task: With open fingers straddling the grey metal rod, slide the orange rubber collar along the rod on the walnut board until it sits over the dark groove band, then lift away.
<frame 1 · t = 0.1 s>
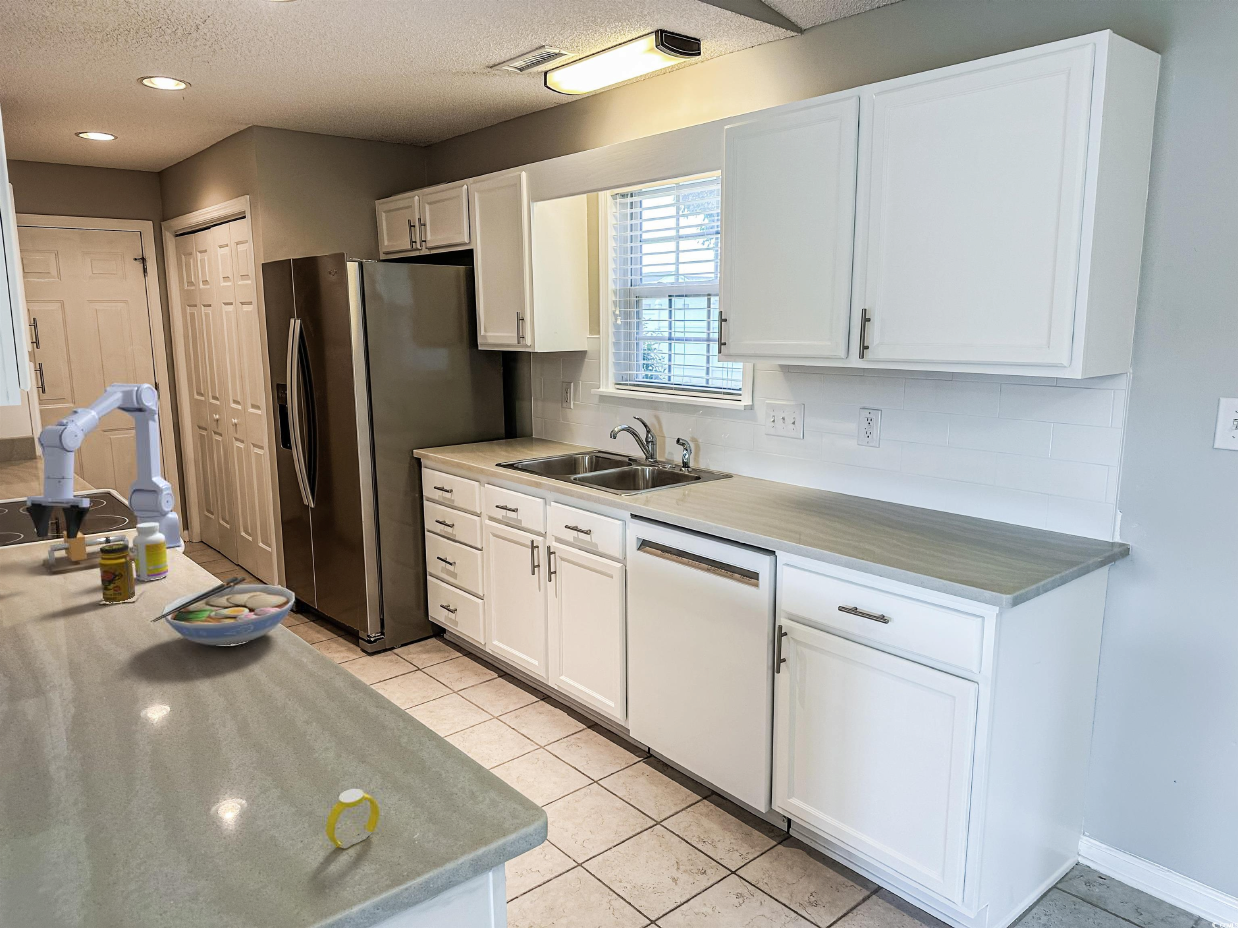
hand: (57, 537, 191), 10 cm above the worktop, tool pointing down, fingers open, 7 cm apart
metal rod: (89, 549, 208), on the walnut board, point 3 cm above the worktop
walnut board: (90, 562, 209), on the worktop
ramen bowl: (233, 641, 158), on the worktop
watch: (354, 842, 97), on the worktop
collar: (74, 545, 206), point 5 cm above the worktop, slide at 0.0 cm
supplement bottle: (152, 578, 197), on the worktop
condiment: (121, 599, 182), on the worktop
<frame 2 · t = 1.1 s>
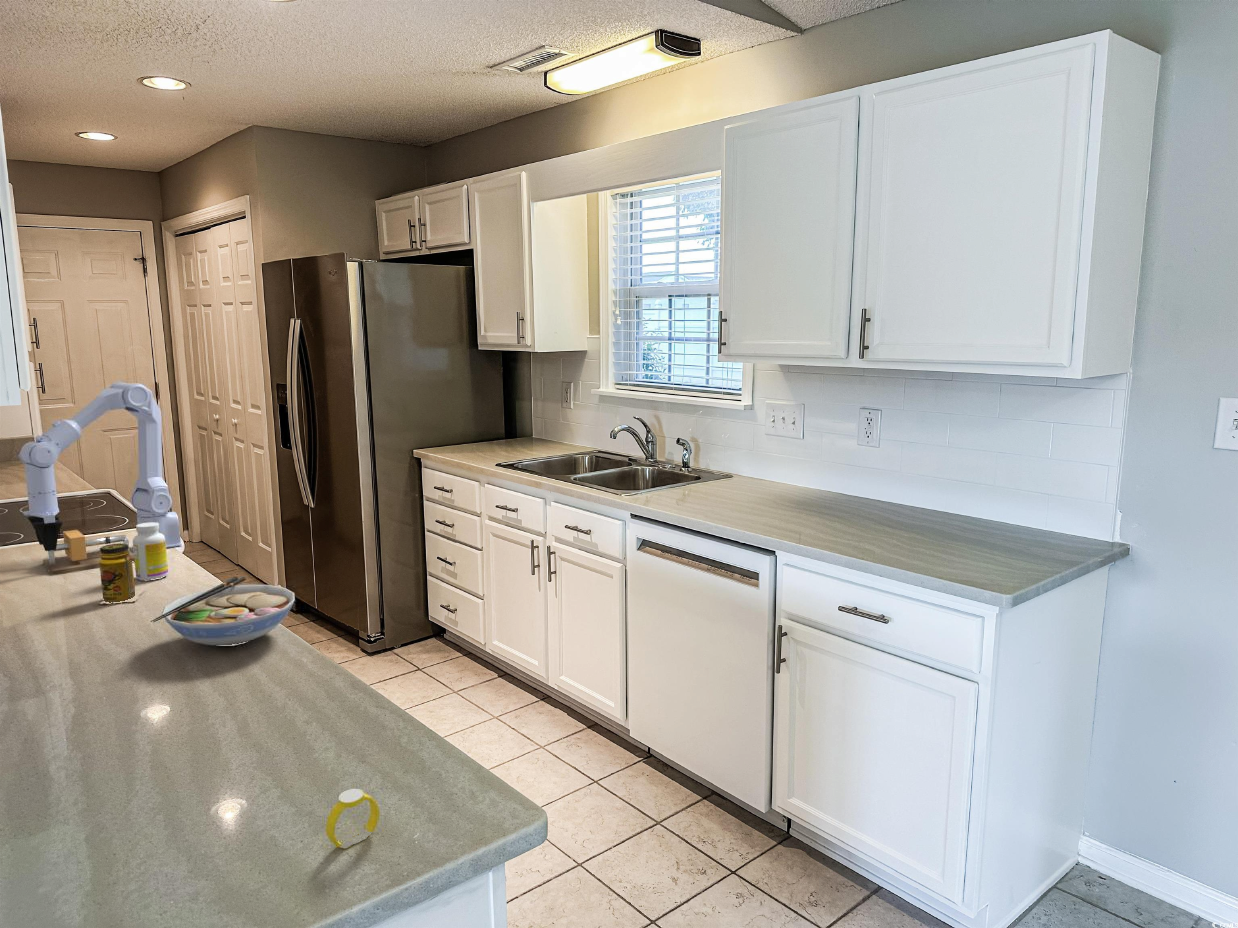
hand: (47, 547, 202), 5 cm above the worktop, tool pointing down, fingers open, 7 cm apart
nothing on the worktop moved.
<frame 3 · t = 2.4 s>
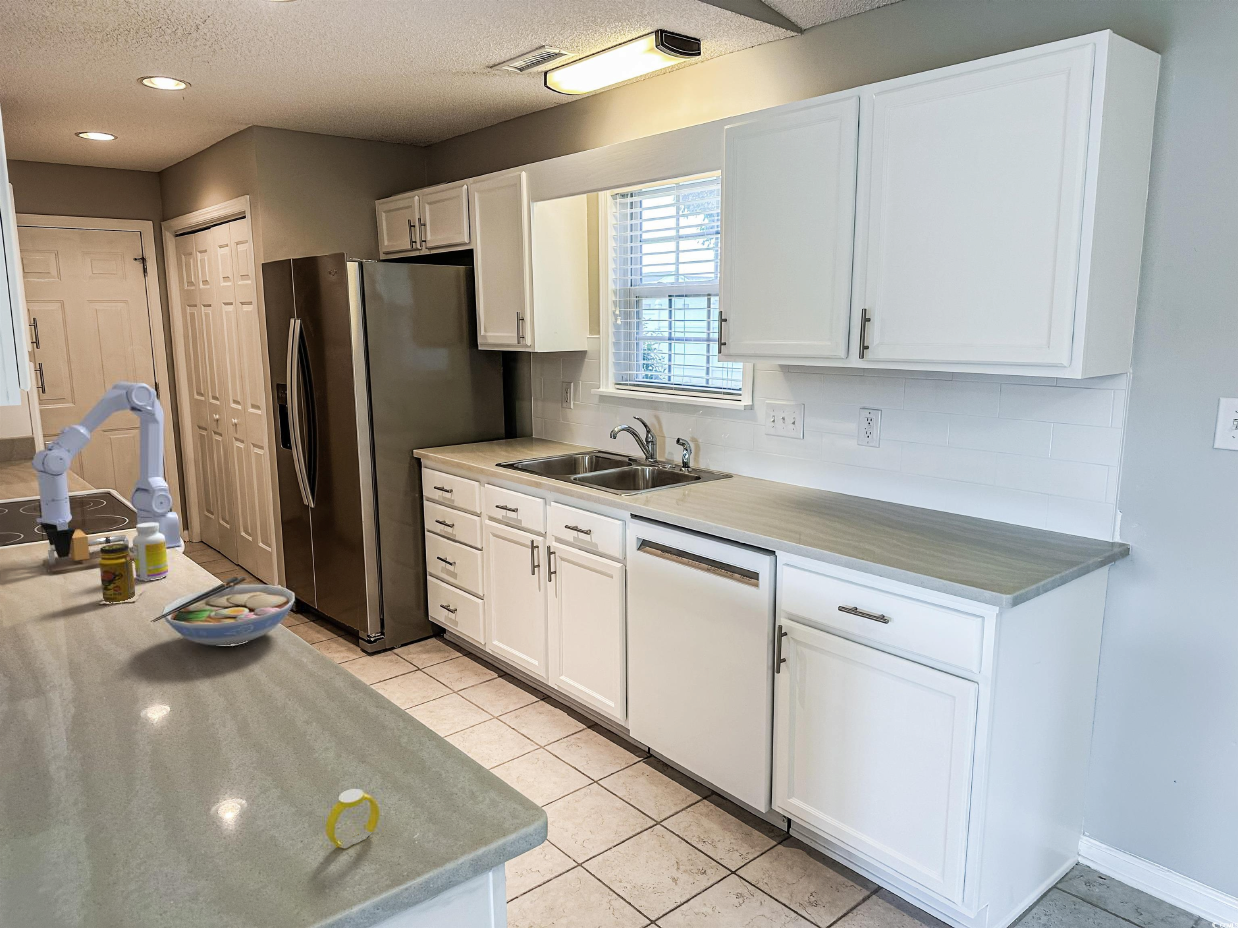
hand: (60, 553, 204), 3 cm above the worktop, tool pointing down
collar: (77, 544, 206), point 5 cm above the worktop, slide at 0.6 cm, touching gripper
everything else where it was.
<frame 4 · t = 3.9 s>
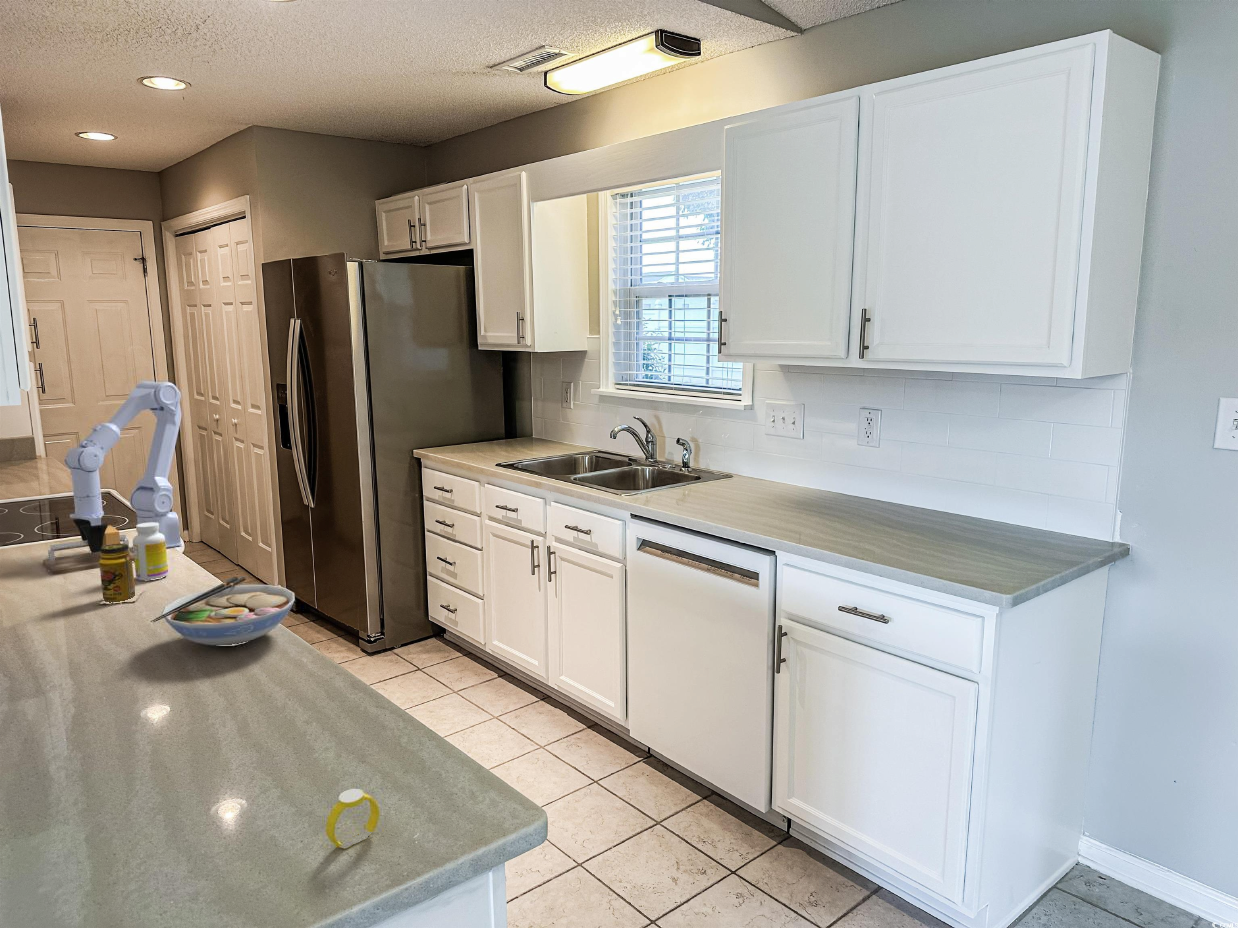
hand: (92, 548, 209), 3 cm above the worktop, tool pointing down
collar: (109, 540, 211), point 5 cm above the worktop, slide at 7.4 cm, touching gripper
everything else where it was.
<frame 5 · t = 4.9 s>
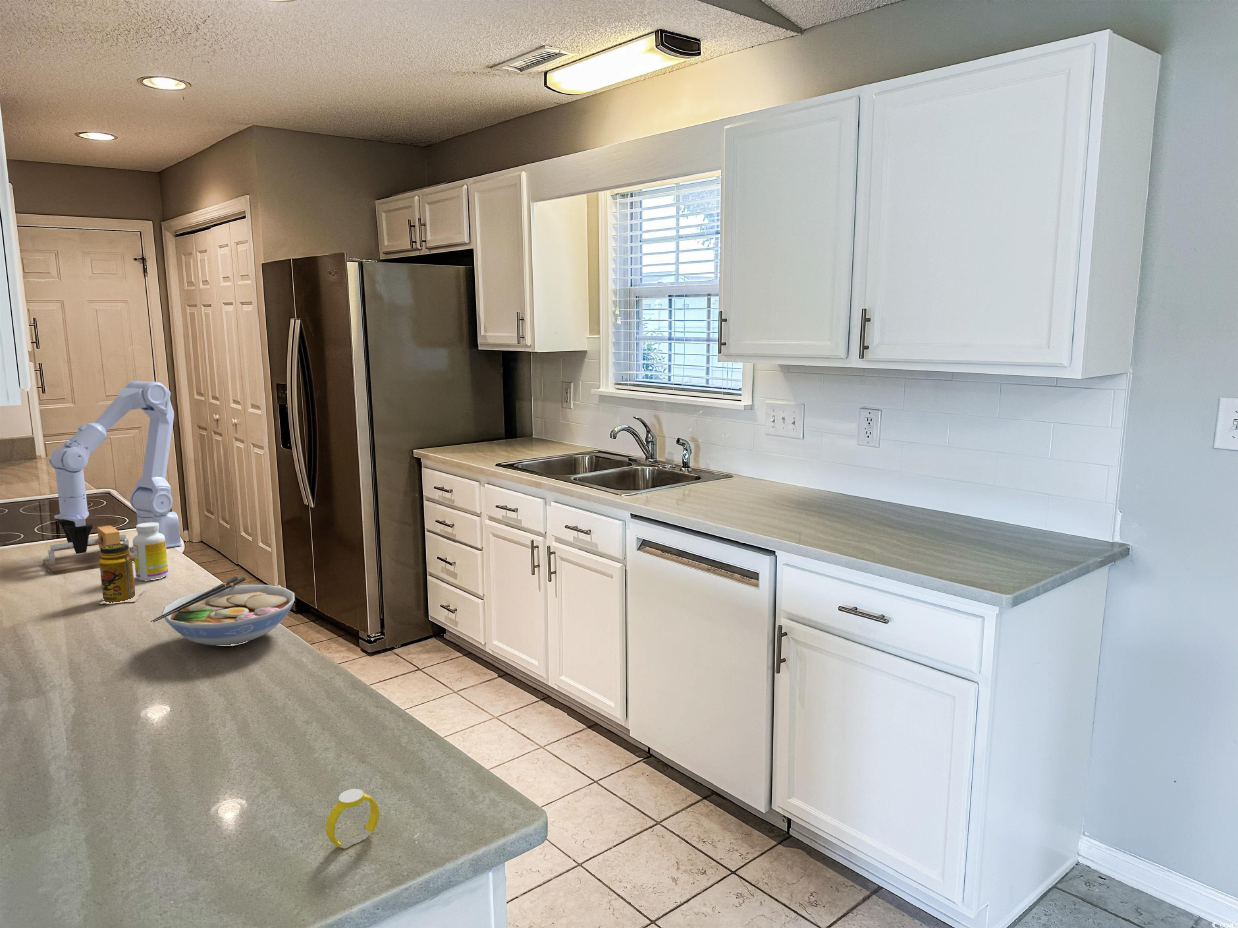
hand: (77, 549, 207), 4 cm above the worktop, tool pointing down, fingers open, 7 cm apart
collar: (109, 540, 211), point 5 cm above the worktop, slide at 7.4 cm
everything else where it was.
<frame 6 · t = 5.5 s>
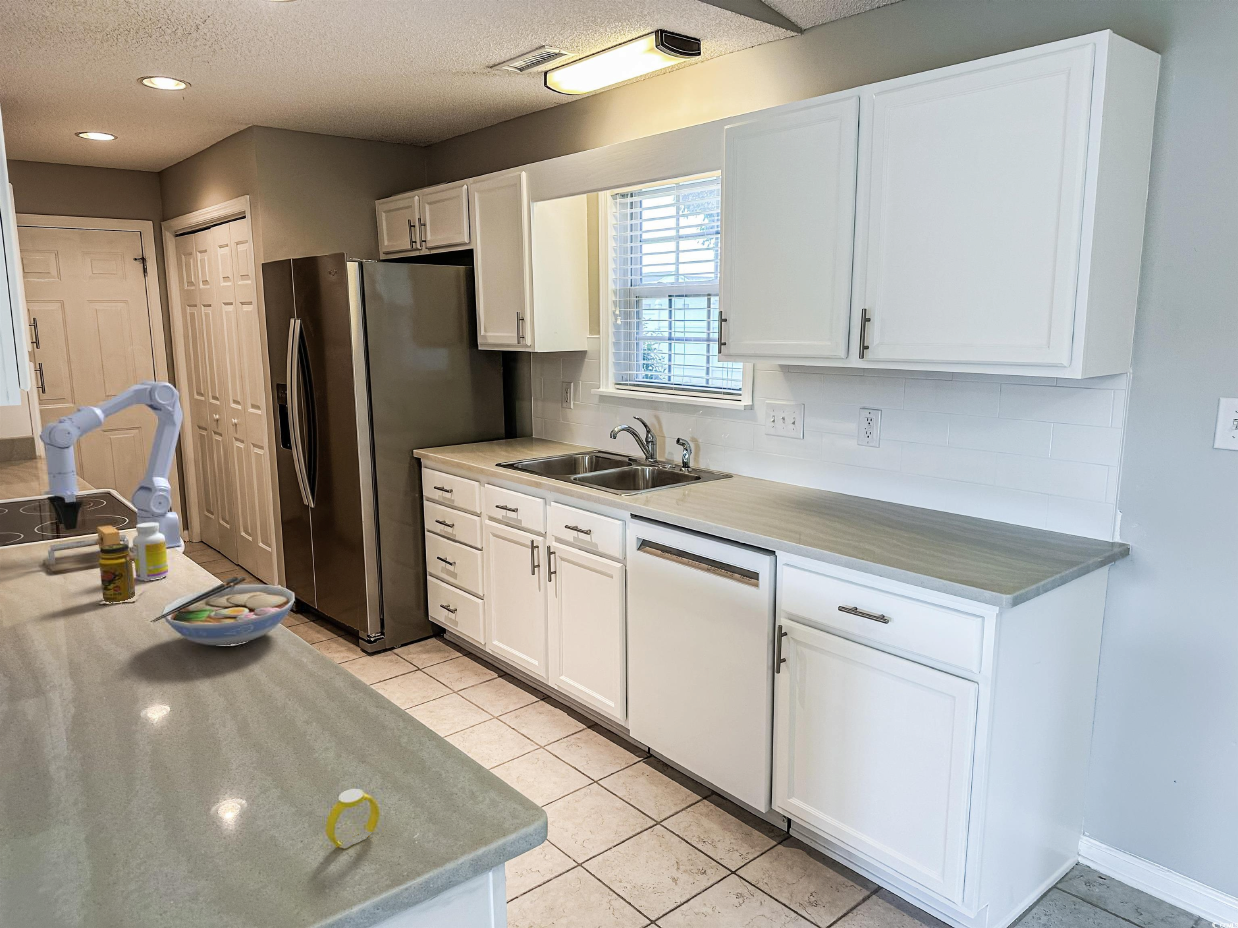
hand: (67, 526, 206), 9 cm above the worktop, tool pointing down, fingers open, 7 cm apart
nothing on the worktop moved.
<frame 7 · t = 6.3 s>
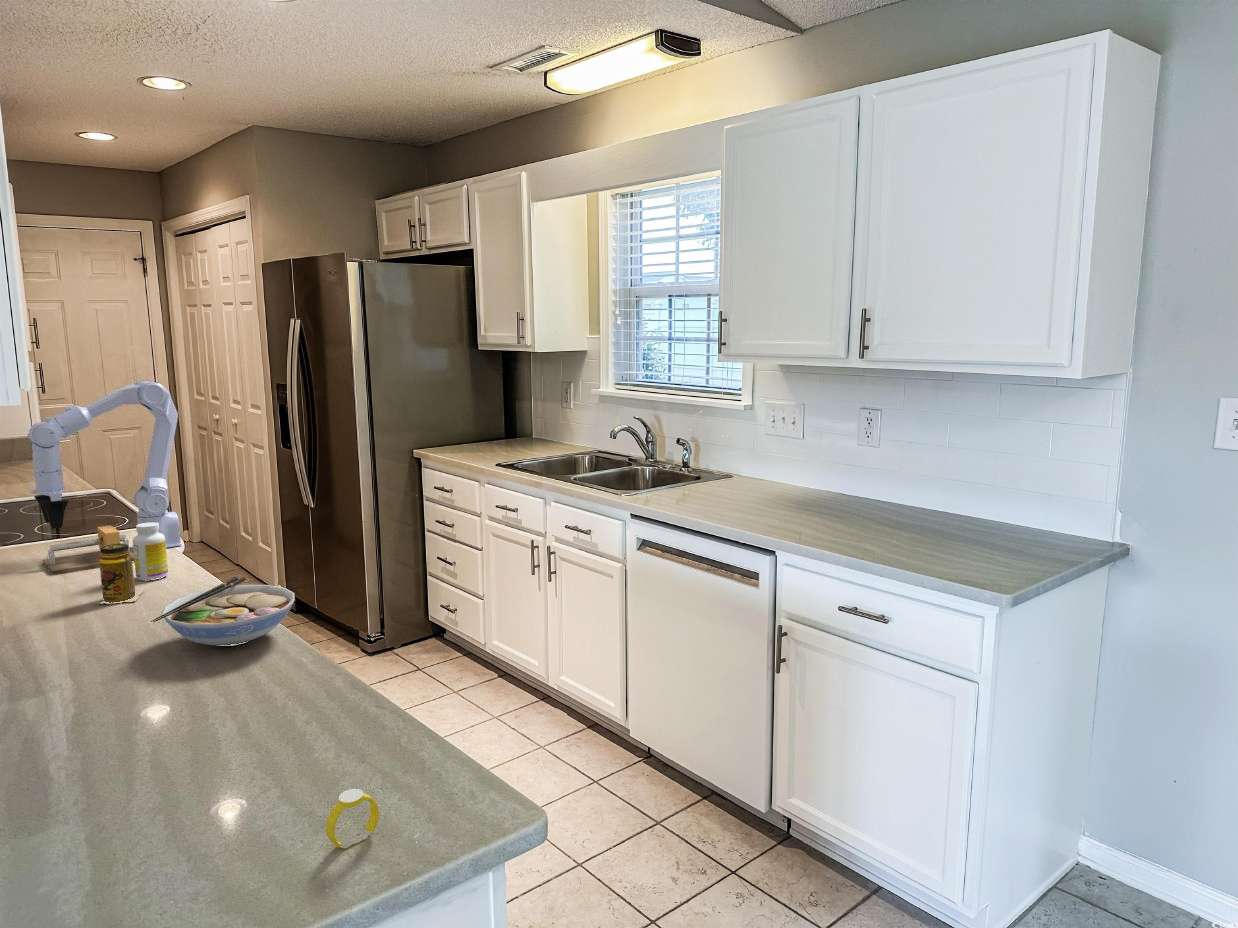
hand: (54, 525, 208), 9 cm above the worktop, tool pointing down, fingers open, 7 cm apart
nothing on the worktop moved.
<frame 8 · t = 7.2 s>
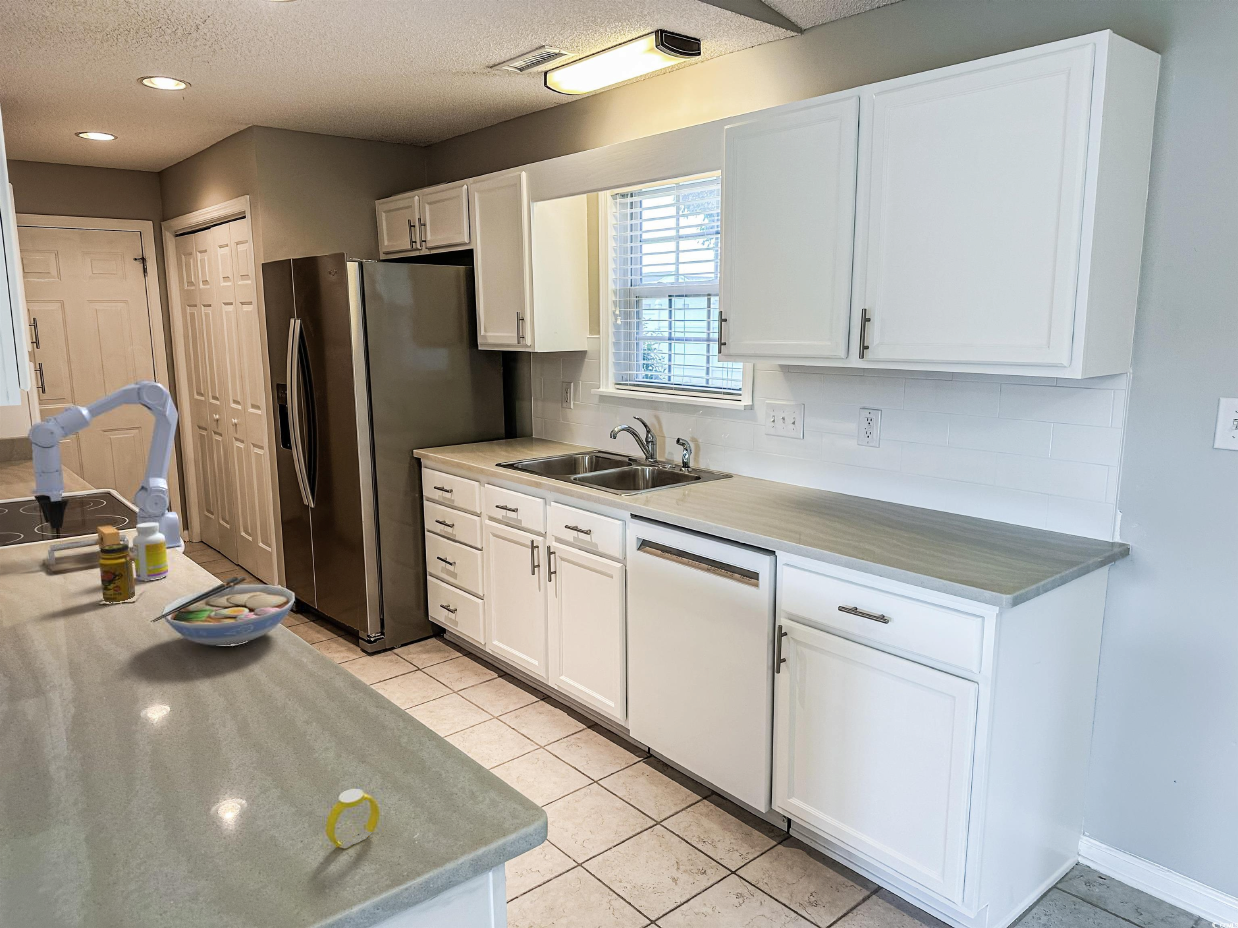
hand: (54, 525, 208), 9 cm above the worktop, tool pointing down, fingers open, 7 cm apart
nothing on the worktop moved.
at the end: collar slide at 7.4 cm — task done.
